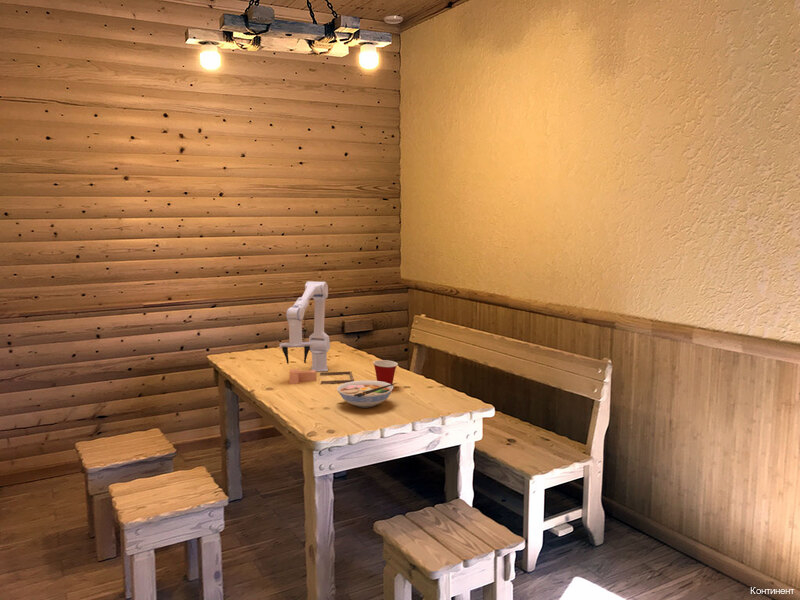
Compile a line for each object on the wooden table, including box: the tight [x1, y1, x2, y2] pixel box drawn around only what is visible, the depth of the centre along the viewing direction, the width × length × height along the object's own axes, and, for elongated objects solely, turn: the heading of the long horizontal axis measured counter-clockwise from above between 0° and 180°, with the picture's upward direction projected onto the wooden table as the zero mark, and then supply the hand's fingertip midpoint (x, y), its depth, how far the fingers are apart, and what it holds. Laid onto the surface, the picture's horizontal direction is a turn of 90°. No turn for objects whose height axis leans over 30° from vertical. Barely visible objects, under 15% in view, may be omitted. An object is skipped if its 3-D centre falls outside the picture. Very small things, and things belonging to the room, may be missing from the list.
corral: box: [319, 370, 355, 385], centre depth 307 cm, size 17×15×1 cm
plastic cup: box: [372, 359, 399, 385], centre depth 288 cm, size 11×11×12 cm
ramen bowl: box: [336, 379, 398, 409], centre depth 264 cm, size 25×23×8 cm
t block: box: [288, 368, 317, 385], centre depth 304 cm, size 12×12×4 cm
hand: (296, 363), depth 299 cm, fingers open, 7 cm apart
